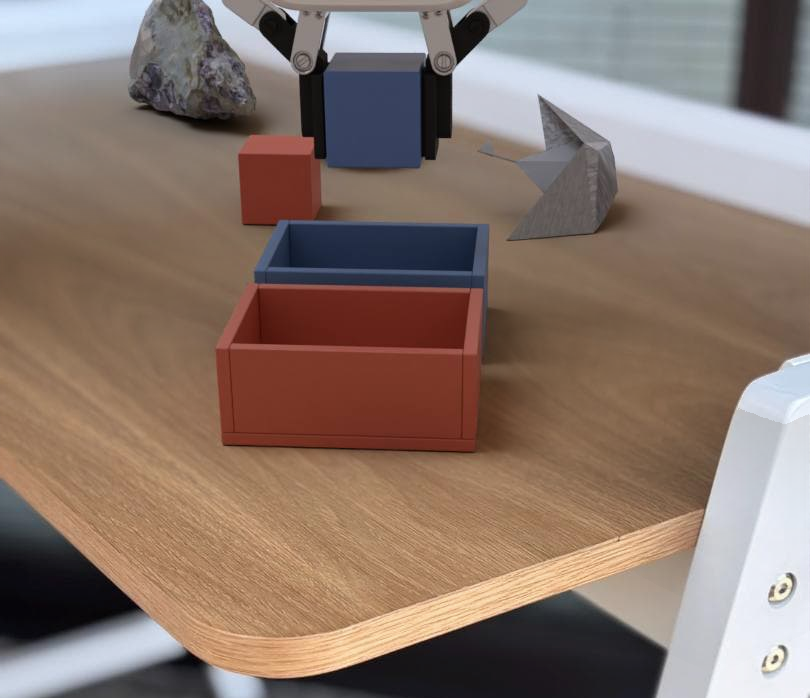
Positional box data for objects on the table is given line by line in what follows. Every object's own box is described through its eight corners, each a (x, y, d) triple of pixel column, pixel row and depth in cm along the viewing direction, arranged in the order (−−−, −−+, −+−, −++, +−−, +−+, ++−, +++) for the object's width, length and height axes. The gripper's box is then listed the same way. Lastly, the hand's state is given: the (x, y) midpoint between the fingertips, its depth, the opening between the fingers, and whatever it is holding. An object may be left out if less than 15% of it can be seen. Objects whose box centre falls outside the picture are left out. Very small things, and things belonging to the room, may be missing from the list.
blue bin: (258, 358, 75) (253, 270, 73) (282, 301, 82) (279, 219, 80) (482, 364, 74) (484, 275, 72) (487, 306, 81) (489, 223, 79)
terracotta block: (241, 224, 94) (237, 153, 92) (253, 203, 98) (249, 134, 96) (312, 225, 94) (310, 154, 92) (321, 204, 98) (319, 135, 96)
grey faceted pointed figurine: (621, 233, 88) (472, 190, 88) (590, 295, 94) (449, 256, 93) (646, 85, 94) (505, 44, 93) (614, 153, 100) (481, 115, 99)
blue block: (326, 167, 72) (323, 71, 70) (337, 143, 76) (334, 52, 73) (420, 168, 71) (419, 72, 69) (426, 144, 75) (426, 52, 73)
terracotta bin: (221, 444, 66) (214, 347, 64) (252, 372, 73) (247, 282, 71) (475, 452, 65) (477, 354, 63) (481, 378, 73) (483, 288, 70)
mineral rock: (255, 137, 113) (248, -2, 108) (112, 139, 113) (98, -1, 108) (263, 98, 124) (257, -30, 119) (133, 99, 124) (122, -29, 119)
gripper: (156, -267, 62) (192, 172, 71) (567, -272, 61) (551, 175, 70) (193, -270, 68) (221, 132, 77) (564, -274, 67) (550, 135, 76)
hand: (377, 148), depth 73 cm, fingers closed on blue block, 4 cm apart
